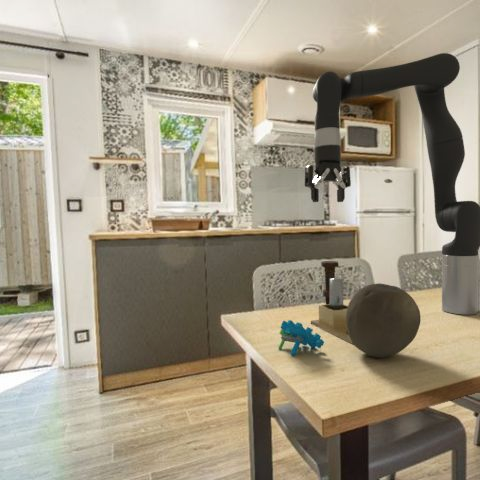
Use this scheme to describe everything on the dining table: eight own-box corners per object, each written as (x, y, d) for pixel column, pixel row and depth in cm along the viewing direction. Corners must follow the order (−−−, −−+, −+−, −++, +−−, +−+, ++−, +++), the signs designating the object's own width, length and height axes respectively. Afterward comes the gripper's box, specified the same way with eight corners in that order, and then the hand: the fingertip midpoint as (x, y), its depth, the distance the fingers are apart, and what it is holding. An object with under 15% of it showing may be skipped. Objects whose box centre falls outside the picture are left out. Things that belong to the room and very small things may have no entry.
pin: (338, 320, 96) (338, 277, 96) (346, 323, 93) (346, 279, 93) (326, 321, 95) (327, 278, 95) (334, 325, 92) (334, 279, 92)
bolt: (341, 305, 116) (340, 261, 115) (336, 309, 112) (336, 262, 111) (324, 304, 119) (323, 260, 119) (319, 307, 115) (318, 262, 114)
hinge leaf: (346, 318, 101) (346, 300, 101) (393, 336, 84) (393, 315, 84) (310, 323, 97) (310, 304, 97) (352, 344, 80) (352, 321, 80)
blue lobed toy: (333, 345, 75) (307, 319, 71) (323, 370, 72) (295, 344, 68) (297, 339, 84) (271, 315, 80) (286, 361, 81) (259, 338, 77)
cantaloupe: (382, 374, 64) (381, 294, 63) (332, 349, 77) (331, 282, 76) (435, 360, 70) (435, 286, 69) (380, 339, 83) (380, 277, 82)
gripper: (313, 142, 95) (314, 201, 96) (355, 144, 100) (356, 201, 101) (299, 147, 102) (300, 203, 103) (340, 150, 107) (340, 202, 108)
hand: (328, 202), depth 102 cm, fingers open, 8 cm apart
